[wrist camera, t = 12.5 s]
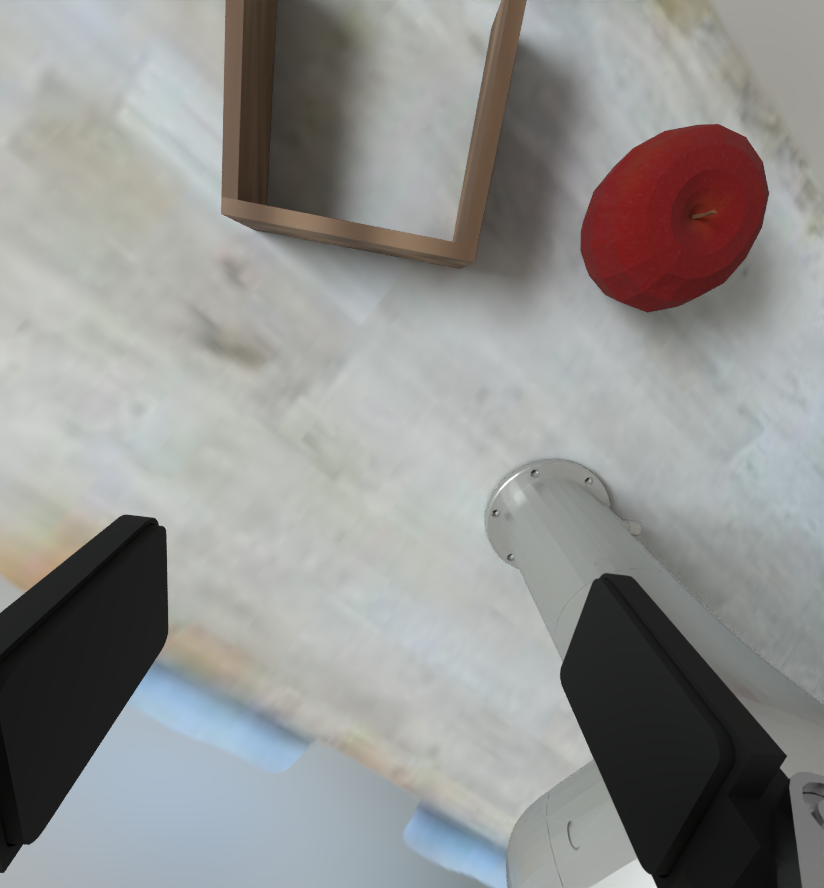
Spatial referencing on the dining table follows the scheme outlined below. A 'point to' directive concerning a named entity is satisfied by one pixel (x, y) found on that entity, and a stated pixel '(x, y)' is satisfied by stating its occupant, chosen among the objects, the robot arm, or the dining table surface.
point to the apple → (675, 217)
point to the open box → (247, 204)
